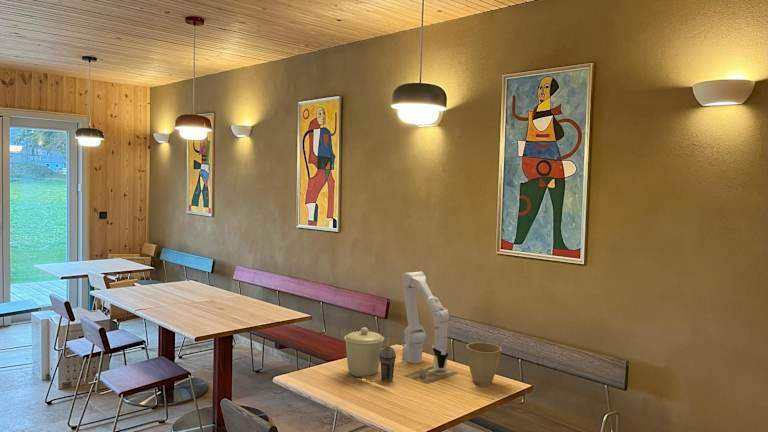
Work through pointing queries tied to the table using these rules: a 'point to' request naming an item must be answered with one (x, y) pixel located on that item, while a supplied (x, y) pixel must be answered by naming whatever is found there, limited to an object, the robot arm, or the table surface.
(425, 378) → the post board
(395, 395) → the table surface
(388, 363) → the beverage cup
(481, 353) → the plant pot
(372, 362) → the canister
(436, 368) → the beige stacked cube
